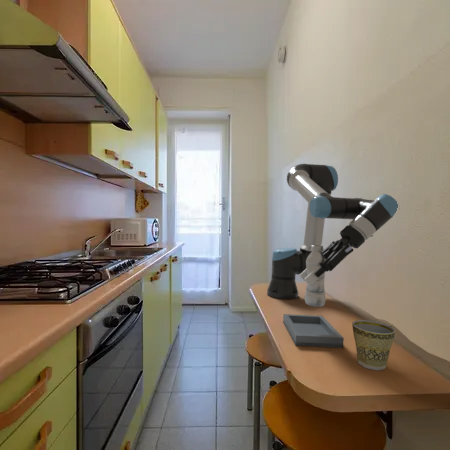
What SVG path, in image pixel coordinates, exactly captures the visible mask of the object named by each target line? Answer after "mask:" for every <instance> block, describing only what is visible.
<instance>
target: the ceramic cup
mask: <svg viewBox="0 0 450 450" xmlns="http://www.w3.org/2000/svg"><path fill="white" fill-rule="evenodd" d="M395 331H396V329H395V328H394V326H392V325H391V326H390V325H389V324H386V323H382V322H378V321H374V320H368V319H367V320H363V319H360V320H359V319H358V320H355V321H353V322H352V333H353V338H354V342H355V349H356V358H357V363H358V365H359V364H360V366H361V365H362V366H361V367H363V368H364V369H368V370H372V371H381V370H385V369H386V367H387V363H388V359H389V356H390V353H391V348H392V346H393V342H394V339H395V333H396V332H395Z"/></svg>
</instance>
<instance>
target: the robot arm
mask: <svg viewBox="0 0 450 450" xmlns="http://www.w3.org/2000/svg"><path fill="white" fill-rule="evenodd" d="M287 172H288V173H287V174H286V181H287V182H286V183H287V185H288V186H289V188H291V189H292V190H293V191H296V192H297V193H299V194H300V196H301V197H302V198H303V199H304V200H305V201H306V202H307V210H306V217H305V218H306V221H305V229H304V239H303V243H302V244H301V245H300V247H299V250H297V247H296V248H295V247H283V248H282V247H281V248H277V249H275V250H273V251H272V255H271V256H272V258H271V279H270V282H269V285H268V287H267V290H266V291H267V292H266V295H267V294H268V295H267V296H269V297H271V298H275V299H281V300H294V299H297V298H299V290H298V286H297V282H296V275H298V276H300V278H301V279H302V280H303V281H304V282H306V284H307V283H308V284H309V285H310V286H311V285H312V284H313V283H314V282H315V281H316V280H317V279H319V278H320V277H321V276H322V275H323V274H324V273H325V274H326V273H327V272H332V271H333V270H334V269H335V268H336V267H337V266H338V265H339V264H340V263H341V262H342V261H344V259H346V258H347V256H349V255H350V254H351V253H353V252H354V249H358V248H360V247H361V246H362V245H363V244H364V243H365V241H367V240H368V239H369V238H372V237H374V234H375V233H376V232H377V231H379V230H380V229H381V228H382V227H383V226H384V225H385V224H386V223H388V222H389V220H391V219H392V218H393V217H394V216H395V215H396V214H397V213H396V211H397V208H398V204H399V203H398V204H397V202H398V201H397V200H396V198H394V197H393V196H391V195H389V194H387V193H383V194H380V195H379V196H377V197H376V198H375V199H365V198H362V197H361V198H360V197H359V198H358V197H353V198H351V197H336V196H335V197H334V196H332V191H335V190H336V189H337V187H338V184H339V176H338V175H339V174H338V172H337V170H336V168H335V167H334V166H331V165H328V164H311V163H299V164H296V165H294V166H293V167H291V168H290V170H289V171H287ZM395 213H396V214H395ZM325 219H337V220H338V219H340V220H341V219H342V220H351V221H350V222H349V223H348V225H345V227H344V228H343V229H342V230H340V232H339V235H340V239H337V240H336V241H334V240H333V241H332V242H330V244H328V246H327V247H326V248H323V251H322V254H323V255H324V257H325V258H326V260H325V262H324V263H323V264H322V263H320V265H321V266H320V265H319V266H318V267H317V268H316V269H315V270H314V271H312V272H311V273H310V274H309V275H308V276H307V268H306V259H307V257H308V256H309V255H310V253H311V252H312V251H311V245H322V244H323V238H324V229H325V228H324V227H325V221H326V220H325ZM322 246H323V245H322Z"/></svg>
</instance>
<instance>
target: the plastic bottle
mask: <svg viewBox="0 0 450 450" xmlns="http://www.w3.org/2000/svg"><path fill="white" fill-rule="evenodd" d="M323 249H324V245H311V251H312V252H311V253H310V255H309V256H308V257H307V259H306V268H307V276H308V275H309V274H310V273H311V272H312V271H314V270H315V269H316V268H317V267H318V266H319V265H320V263H322V264H323V263H324V262H325V260H326V258H325V257H324V255H323V254H322V251H323ZM320 266H321V265H320ZM325 276H326V272H325V273H324V274H323V275H322V276H321V277H320V278H319V279H317V280H316V281H315V282H314V283H313V284H312V285H311V286H310V285H309V284H308V283H307V282H306V286H305V288H306V289H305V293H304V302H305V304H306V305H308V306H309V307H310V306H311V307H315V308H318V307H324V305H325V304H326V301H327V300H326V297H327V296H326V292H325V278H326V277H325Z"/></svg>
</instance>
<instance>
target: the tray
mask: <svg viewBox="0 0 450 450" xmlns="http://www.w3.org/2000/svg"><path fill="white" fill-rule="evenodd" d="M282 318H283V321H282V323H283V325H284V326H285V329H286V330H287V332H288V334H289V336H290V338H291V340H292V341H293V344H294V345H295V347H296V346H297V347H298V346H299V347H317V348H318V347H319V348H320V347H321V348H335V349H336V348H337V349H338V348H339V349H340V348H342V349H343V348H344V340H345V339H344V338H345V337H344V336H343V335H341V333H339V331H338V330H337V329H336V328H335V327H334V326H333V325H332V324H331V323H330V322H329V321H328V320H327V319H326V318H325V317H324V316H323V315H313V314H288V313H284V314H283V317H282Z"/></svg>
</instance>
